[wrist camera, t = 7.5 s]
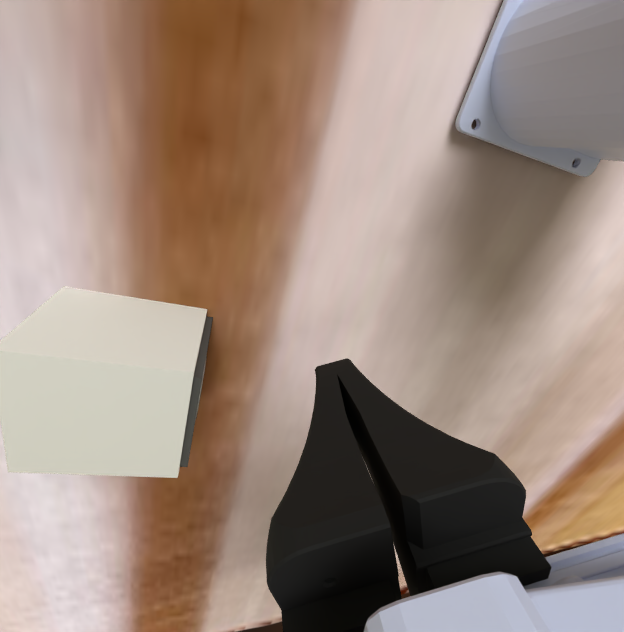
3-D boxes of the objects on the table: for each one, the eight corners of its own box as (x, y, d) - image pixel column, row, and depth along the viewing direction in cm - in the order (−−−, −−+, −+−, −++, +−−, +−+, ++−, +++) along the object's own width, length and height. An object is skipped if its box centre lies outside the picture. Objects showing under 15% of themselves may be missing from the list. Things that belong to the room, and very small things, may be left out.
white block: (214, 310, 21) (203, 373, 16) (199, 398, 24) (185, 478, 18) (64, 286, 19) (-11, 350, 13) (67, 386, 22) (8, 472, 16)
